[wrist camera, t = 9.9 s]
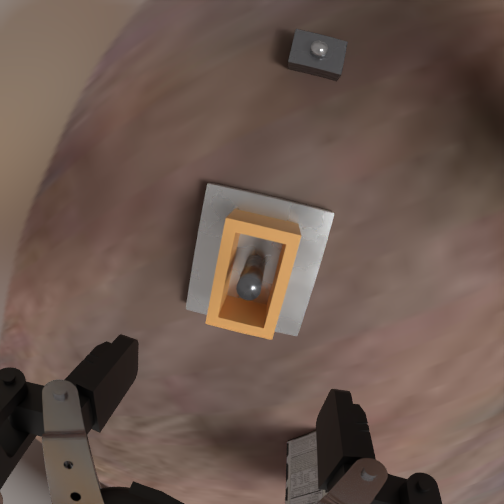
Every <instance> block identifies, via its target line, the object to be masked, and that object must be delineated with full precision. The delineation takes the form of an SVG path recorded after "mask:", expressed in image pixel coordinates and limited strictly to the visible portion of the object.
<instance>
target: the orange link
mask: <svg viewBox="0 0 504 504" xmlns="http://www.w3.org/2000/svg"><path fill="white" fill-rule="evenodd" d="M240 234H244V235H249V236H253V237H257V238H261V239H266V240H270V241H274V242H278V243H282V244H283V245H282V249H281V252H280V256H279V260H278V264H277V268H276V272H275V276H274V279H273V283H272V287H271V291H270V295H269V298H268V302H267V305H266V304H262V303H257V302H253V301H249V300H244V299H241V298H237V297H233V296H229V295H227V293H228V288H229V283H230V279H231V274H232V269H233V264H234V260H235V255H236V250H237V246H238V241H239V236H240ZM300 239H301V232H300V228H299V224H297V223H293V222H289V221H285V220H281V219H277V218H272V217H268V216H264V215H260V214H255V213H251V212H247V211H242V210H238V209H234V210H233V211H232V212H231V213H230V214H229V215H228V216H227V217H226V219H225V224H224V229H223V234H222V239H221V244H220V249H219V254H218V259H217V264H216V270H215V275H214V280H213V286H212V291H211V296H210V302H209V307H208V313H207V318H206V324H209V325H212V326H216V327H220V328H224V329H228V330H232V331H236V332H240V333H244V334H249V335H253V336H257V337H261V338H266V339H270V340H272V338H273V335H274V331H275V328H276V325H277V321H278V318H279V314H280V311H281V308H282V304H283V301H284V297H285V294H286V290H287V287H288V283H289V279H290V276H291V272H292V269H293V265H294V261H295V258H296V254H297V250H298V247H299V243H300Z"/></svg>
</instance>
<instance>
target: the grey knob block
mask: <svg viewBox="0 0 504 504" xmlns="http://www.w3.org/2000/svg"><path fill="white" fill-rule="evenodd" d="M346 48H347V42H346V41H343V40H339V39H336V38H332V37H328V36H324V35H320V34H316V33H312V32H308V31H303V30H299V29H296V30H295V35H294V39H293V43H292V47H291V52H290V56H289V60H288V69H290V70H294V71H299V72H303V73H307V74H312V75H316V76H319V77H323V78H327V79H331V80H334V81H337V80H338V79H339V77H340V76H341V73H342V68H343V63H344V58H345V53H346Z"/></svg>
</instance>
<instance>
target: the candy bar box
mask: <svg viewBox="0 0 504 504" xmlns="http://www.w3.org/2000/svg"><path fill="white" fill-rule="evenodd" d="M327 493H328V491H327V490H319V489H318V466H317V441H316V431H313V432H311V433H309V434H306V435H304V436H301V437H298V438H295V439H293V440H290V441H287V463H286V497H285V504H317V503H318V502H319V501H320V500H321V499H322V498H323V497H324V496H325V495H326V494H327Z"/></svg>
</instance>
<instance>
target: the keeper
mask: <svg viewBox="0 0 504 504" xmlns="http://www.w3.org/2000/svg"><path fill="white" fill-rule="evenodd" d="M234 209H238V210H242V211H247V212H251V213H255V214H260V215H264V216H268V217H272V218H277V219H281V220H285V221H289V222H293V223H297V224H299V228H300V232H301V239H300V243H299V247H298V250H297V254H296V258H295V261H294V265H293V269H292V272H291V276H290V279H289V283H288V287H287V290H286V294H285V297H284V301H283V304H282V308H281V311H280V314H279V318H278V321H277V325H276V328H275V332H280V333H284V334H289V335H294V336H297V335H298V332H299V330H300V327H301V324H302V320H303V317H304V314H305V311H306V308H307V305H308V302H309V299H310V296H311V292H312V289H313V286H314V283H315V280H316V276H317V273H318V270H319V266H320V263H321V260H322V256H323V253H324V249H325V246H326V242H327V239H328V235H329V232H330V228H331V224H332V221H333V217H334V213H333V212H332V211H330V210H326V209H322V208H318V207H314V206H310V205H307V204H303V203H299V202H295V201H290V200H286V199H282V198H278V197H274V196H270V195H265V194H261V193H257V192H252V191H248V190H244V189H239V188H235V187H230V186H225V185H221V184H216V183H211V182H210V183H207V188H206V193H205V198H204V203H203V208H202V214H201V219H200V225H199V230H198V236H197V242H196V247H195V253H194V259H193V265H192V271H191V278H190V284H189V290H188V297H187V304H186V309H187V310H191V311H194V312H198V313H202V314H206V315H207V313H208V307H209V302H210V296H211V291H212V286H213V280H214V275H215V270H216V264H217V259H218V254H219V249H220V244H221V239H222V234H223V229H224V224H225V219H226V217H227V216H228V215H229V214H230V213H231V212H232V211H233V210H234ZM282 245H283V244H282V243H278V242H274V241H270V240H266V239H261V238H257V237H253V236H249V235H244V234H240V236H239V241H238V246H237V250H236V255H235V260H234V264H233V269H232V274H231V279H230V283H229V288H228V293H227V295H229V296H233V297H237V298H241V299H244V300H249V301H253V302H257V303H262V304H266V305H267V302H268V298H269V295H270V291H271V287H272V283H273V279H274V276H275V272H276V268H277V264H278V260H279V256H280V252H281V249H282Z"/></svg>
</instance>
